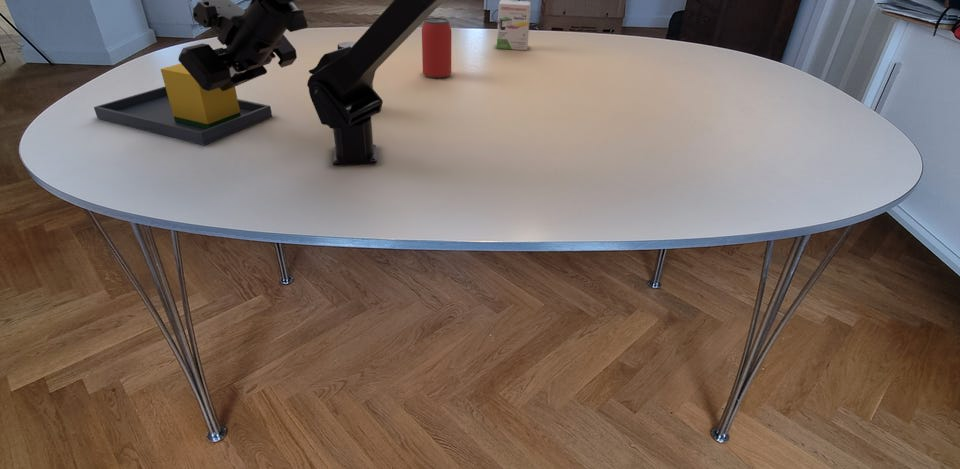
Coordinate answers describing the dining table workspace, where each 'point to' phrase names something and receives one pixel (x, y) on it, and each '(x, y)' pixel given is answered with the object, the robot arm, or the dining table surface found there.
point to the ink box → (513, 24)
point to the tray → (157, 117)
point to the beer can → (436, 47)
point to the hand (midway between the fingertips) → (222, 88)
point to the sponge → (198, 100)
